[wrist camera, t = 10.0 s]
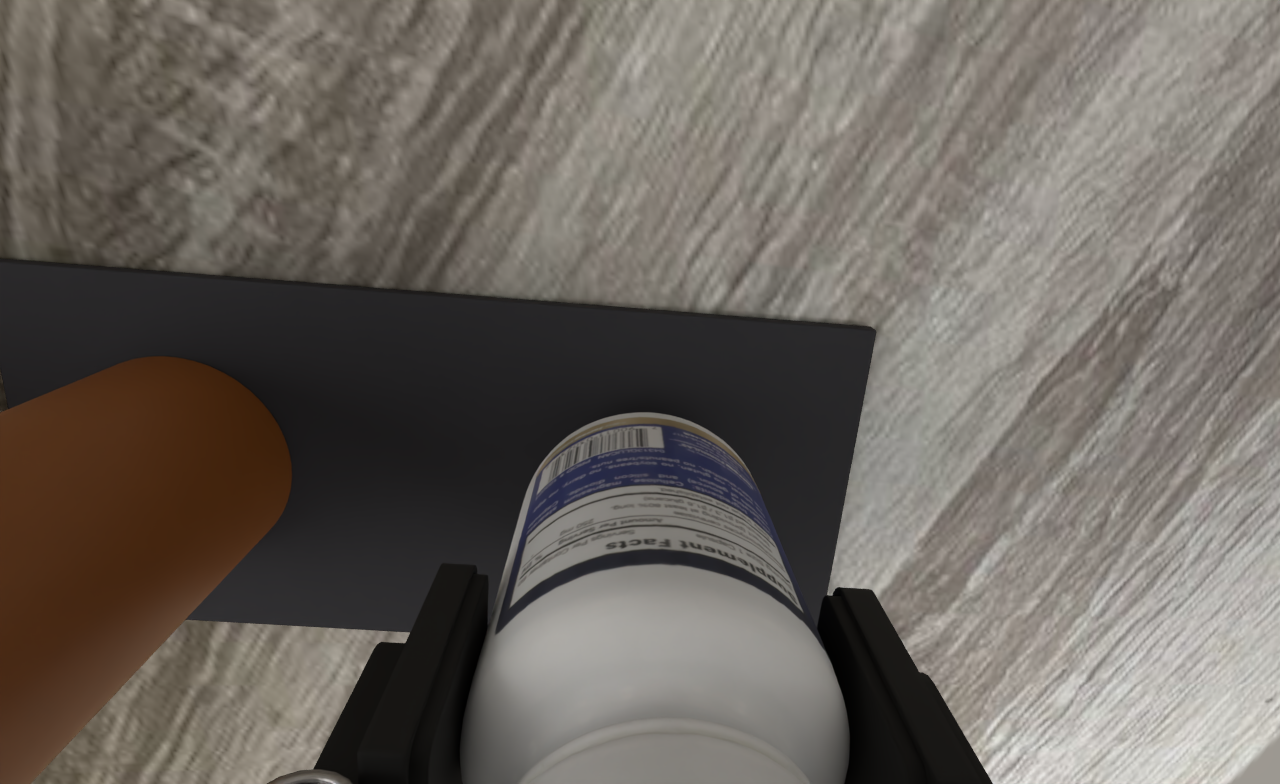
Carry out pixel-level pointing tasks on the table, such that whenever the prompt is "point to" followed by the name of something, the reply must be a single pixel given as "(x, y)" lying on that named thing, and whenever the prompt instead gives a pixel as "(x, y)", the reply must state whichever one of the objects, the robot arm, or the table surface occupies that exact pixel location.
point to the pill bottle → (650, 627)
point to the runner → (445, 414)
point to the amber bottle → (119, 533)
